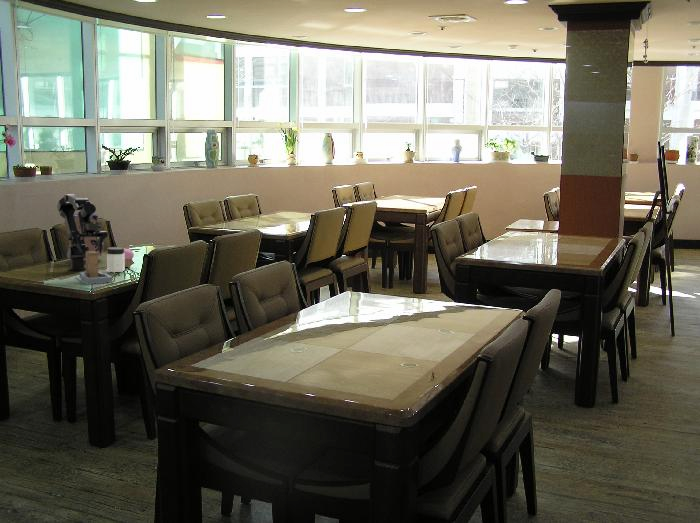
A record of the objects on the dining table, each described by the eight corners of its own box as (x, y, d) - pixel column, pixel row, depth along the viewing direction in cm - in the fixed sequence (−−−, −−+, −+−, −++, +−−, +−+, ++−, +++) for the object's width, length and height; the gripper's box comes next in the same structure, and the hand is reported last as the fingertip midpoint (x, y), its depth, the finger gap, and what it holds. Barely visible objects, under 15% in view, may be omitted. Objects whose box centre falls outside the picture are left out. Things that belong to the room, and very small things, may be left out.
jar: (109, 273, 393) (109, 249, 391) (104, 270, 399) (104, 247, 398) (127, 272, 398) (127, 248, 396) (122, 269, 404) (122, 246, 402)
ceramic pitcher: (97, 263, 421) (97, 216, 417) (58, 261, 421) (57, 215, 417) (108, 258, 438) (107, 213, 434) (70, 256, 438) (69, 212, 434)
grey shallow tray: (75, 277, 379) (75, 272, 379) (102, 275, 386) (102, 270, 386) (86, 284, 364) (86, 278, 364) (114, 282, 372) (113, 276, 371)
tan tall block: (86, 276, 380) (85, 251, 378) (94, 276, 382) (94, 250, 380) (89, 278, 375) (89, 252, 373) (98, 278, 377) (97, 252, 375)
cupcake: (135, 266, 415) (135, 247, 413) (131, 269, 406) (131, 250, 405) (118, 266, 415) (118, 247, 413) (114, 268, 406) (113, 249, 404)
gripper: (73, 215, 372) (79, 245, 368) (110, 215, 385) (116, 245, 381) (64, 224, 380) (69, 254, 376) (100, 225, 393) (106, 254, 389)
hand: (91, 251), depth 380 cm, fingers open, 9 cm apart
